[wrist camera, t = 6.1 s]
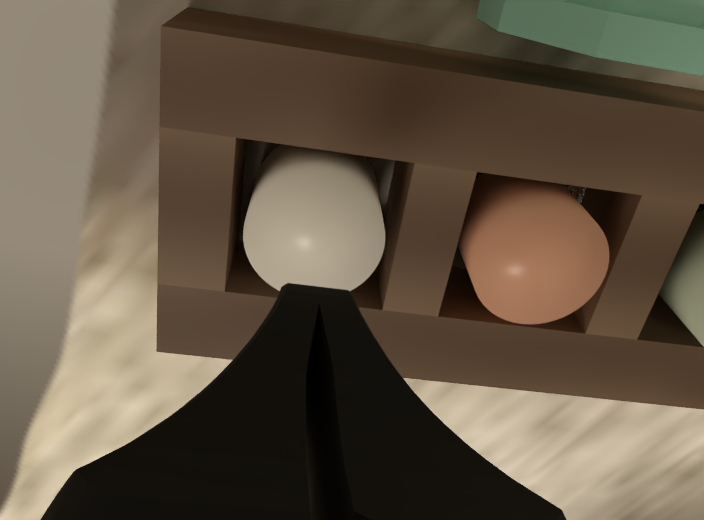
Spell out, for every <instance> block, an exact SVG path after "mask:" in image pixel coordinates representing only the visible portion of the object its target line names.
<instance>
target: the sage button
mask: <svg viewBox="0 0 704 520" xmlns="http://www.w3.org/2000/svg"><path fill="white" fill-rule="evenodd" d="M658 294H659V295H660V296H661V297H662V299H663V300H664V301H665V302H666V303H667V304H668V306H669V307H670V308H671V309H672V310H673V311H674V313H675V314H676V315H677V316H678V317H679V319H680V320H681V321H682V322H683V323H684V324H685V326H686V327H687V328H688V329H689V330H690V331H691V333H692V334H693V335H694V336H695V337H696V338H697V340H698V341H699V342H700V343H701V344H702V345H703V347H704V209H703V210H701V211H698V212H696V213H695V215H694V217H693V220H692V222H691V224H690V226H689V228H688V230H687V233H686V235H685V237H684V239H683V241H682V243H681V246H680V248H679V250H678V252H677V254H676V256H675V259H674V261H673V263H672V265H671V267H670V269H669V272H668V274H667V276H666V278H665V280H664V282H663V285H662V287H661V289H660V291H659V293H658Z"/></svg>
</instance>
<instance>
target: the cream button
mask: <svg viewBox="0 0 704 520" xmlns="http://www.w3.org/2000/svg"><path fill="white" fill-rule="evenodd" d="M243 241H244V248H245V251H246V255H247V257H248V259H249V262H250V263H251V265H252V267H253V268H254V270H255V271H256V272H257V273H258V275H259V276H260V277H261V278H262V279H263V280H264V281H265V282H267V283H268V284H269V285H271V286H272V287H274V288H275V289H277V290H279V291H280V290H281V287H282V286H284V285H285V284H287V283H293V284H301V285H310V286H318V287H326V288H335V289H343V290H349V291H351V290H353V289H355V288H356V287H358V286H359V285H361V284H362V283H363V282H364V281H365V280H366V279H367V278H369V276H370V275H371V274H372V273H373V272H374V270H375V269H376V267H377V266H378V264H379V262H380V260H381V257H382V254H383V251H384V246H385V228H384V222H383V216H382V210H381V204H380V199H379V193H378V187H377V181H376V177H375V174H374V171H373V169H372V167H371V165H370V163H369V162H368V160H367V159H366V157H365V156H361V155H354V154H347V153H340V152H333V151H326V150H319V149H312V148H305V147H298V146H291V145H284V144H280V145H278V146H277V147H276V148H275V149H274V150H272V151H271V152H270V154H269V155H268V156H267V157H266V158H265V160H264V161H263V163H262V165H261V167H260V169H259V171H258V175H257V178H256V181H255V185H254V189H253V193H252V196H251V200H250V204H249V207H248V211H247V215H246V219H245V223H244V229H243Z"/></svg>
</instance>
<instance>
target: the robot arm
mask: <svg viewBox="0 0 704 520" xmlns="http://www.w3.org/2000/svg"><path fill="white" fill-rule="evenodd" d="M41 520H566V518H565V516H564V514H563V511H562V510H561V509H559V508H558V507H556V506H555V505H553V504H551V503H550V502H548V501H547V500H545V499H543V498H542V497H540V496H539V495H537V494H536V493H534V492H532V491H531V490H529V489H528V488H526V487H524V486H523V485H521V484H520V483H518V482H516V481H515V480H513V479H512V478H511V477H509V476H508V475H506V474H505V473H504V472H502V471H501V470H500V469H498V468H497V467H495V466H494V465H493V464H491V463H490V462H489V461H487V460H486V459H485V458H483V457H482V456H481V455H480V454H478V453H477V452H476V451H475V450H473V449H472V448H471V447H470V446H468V445H467V444H466V443H465V442H464V441H463V440H462V439H460V438H459V437H458V436H457V435H456V434H455V433H454V432H453V431H452V430H450V429H449V428H448V427H447V426H446V425H445V424H444V423H443V422H442V421H441V420H440V419H439V418H438V417H437V416H436V415H435V414H434V413H433V412H432V411H431V410H430V409H429V408H428V407H427V406H426V405H425V404H424V403H423V402H422V401H421V399H420V398H419V397H418V396H417V395H416V394H415V393H414V392H413V390H412V389H411V388H410V387H409V385H408V384H407V383H406V382H405V380H404V379H403V378H402V376H401V375H400V374H399V372H398V371H397V370H396V368H395V367H394V366H393V364H392V363H391V361H390V360H389V358H388V357H387V355H386V354H385V352H384V351H383V349H382V348H381V346H380V344H379V343H378V341H377V340H376V338H375V337H374V335H373V333H372V332H371V330H370V328H369V326H368V325H367V323H366V321H365V319H364V317H363V315H362V314H361V312H360V310H359V308H358V306H357V304H356V302H355V299H354V297H353V295H352V294H351V293H350V291H349V290H343V289H335V288H326V287H318V286H310V285H301V284H293V283H287V284H285V285H284V286H282V287H281V290H280V293H279V295H278V298H277V300H276V302H275V304H274V305H273V307H272V309H271V310H270V312H269V314H268V315H267V317H266V318H265V320H264V321H263V323H262V324H261V326H260V327H259V328H258V330H257V331H256V333H255V334H254V335H253V337H252V338H251V339H250V341H249V342H248V343H247V344H246V345H245V347H244V348H243V349H242V350H241V351H240V352H239V354H238V355H237V356H236V357H235V358H234V360H233V361H232V362H231V363H230V364H229V365H228V366H227V367H226V368H225V369H224V370H223V371H222V372H221V373H220V374H219V375H218V376H217V377H216V378H215V379H214V380H213V381H212V382H211V383H210V384H209V385H208V386H207V387H206V388H204V389H203V390H202V391H201V392H200V393H199V394H197V395H196V396H195V397H194V398H193V399H191V400H190V401H189V402H188V403H186V404H185V405H184V406H183V407H182V408H180V409H179V410H178V411H176V412H175V413H174V414H172V415H171V416H170V417H168V418H167V419H165V420H164V421H162V422H161V423H159V424H158V425H156V426H155V427H153V428H152V429H150V430H148V431H147V432H145V433H144V434H142V435H141V436H139V437H138V438H136V439H135V440H133V441H131V442H130V443H128V444H126V445H125V446H123V447H121V448H119V449H117V450H115V451H113V452H111V453H109V454H107V455H105V456H103V457H101V458H99V459H97V460H95V461H93V462H91V463H89V464H87V465H85V466H83V467H80V468H78V469H76V470H75V471H74V472H73V473H72V475H71V476H70V477H69V479H68V480H67V481H66V483H65V484H64V485H63V487H62V488H61V490H60V491H59V492H58V494H57V495H56V497H55V498H54V500H53V501H52V503H51V504H50V506H49V507H48V509H47V510H46V512H45V514H44V515H43V517H42V518H41Z"/></svg>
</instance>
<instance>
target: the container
mask: <svg viewBox="0 0 704 520" xmlns="http://www.w3.org/2000/svg"><path fill="white" fill-rule="evenodd" d="M476 18H477V19H479V20H481V21H482V22H484V23H485V24H487V25H489V26H490V27H492V28H493V29H495V30H496V31H499V32H503V33H507V34H510V35H514V36H518V37H522V38H525V39H529V40H533V41H537V42H540V43H544V44H548V45H552V46H555V47H559V48H563V49H566V50H570V51H574V52H578V53H581V54H585V55H589V56H593V57H597V58H603V59H608V60H614V61H620V62H625V63H631V64H637V65H643V66H648V67H654V68H660V69H665V70H671V71H677V72H682V73H688V74H694V75H699V76H704V0H480V1H479V5H478V9H477V14H476Z"/></svg>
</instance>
